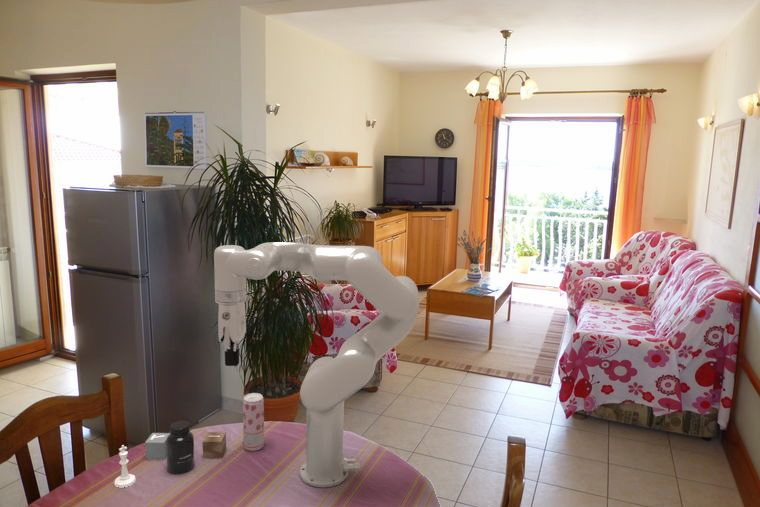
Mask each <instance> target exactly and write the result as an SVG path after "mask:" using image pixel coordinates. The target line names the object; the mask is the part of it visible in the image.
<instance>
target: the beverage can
mask: <svg viewBox="0 0 760 507" xmlns="http://www.w3.org/2000/svg"><path fill="white" fill-rule="evenodd" d="M264 403H265V400H264V396H263V394H261V393H260V392H259V393H258V392H251V393H247V394H245V395H244V396H243V401H242V408H243V409H242V411H243V412H242V413H243V414H242V417H243V421H242V422H243V423H242V424H243V425H242V426H243V430H242V431H243V448H244V449H245V450H246V451H251V452H254V451H258V450H261V449H262V448H263V447H264V446H265V413H264V412H265V409H264V408H265V405H264Z"/></svg>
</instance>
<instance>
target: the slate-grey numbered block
mask: <svg viewBox="0 0 760 507" xmlns="http://www.w3.org/2000/svg"><path fill="white" fill-rule="evenodd" d="M169 434H170V432H167V433H166V432H152V433H151V434H150V435H149V437H148V438H147V439H146V441H144V446H145V448H144V449H145V460H165V459H167V454H166V439H167V437H168V435H169Z"/></svg>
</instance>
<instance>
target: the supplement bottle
mask: <svg viewBox="0 0 760 507" xmlns="http://www.w3.org/2000/svg"><path fill="white" fill-rule="evenodd" d="M169 433H170V434H169V435H168V437H167V439H166V454H167V457H166V469H167V471H168V472H169V473H171V474H184V473H187V472H189V471H190V470H192V468H193V467H194V466H195V440H194V438H195V437H194V434H193V432H192V431H191V428H190V422H188V421H184V420H178V421H174V422H173V423H171V424H170V426H169Z"/></svg>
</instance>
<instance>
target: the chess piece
mask: <svg viewBox="0 0 760 507" xmlns="http://www.w3.org/2000/svg"><path fill="white" fill-rule="evenodd" d="M118 450H119V452H118V456H119V457H120V460H119V465H121V471H120V472H121V474H120V475H119V476H117V477H116V478H115V479H114V486H115V487H116V488H118V487H119V489H120V488H121V489H125V488H128V486H129V487H131V486H133V485H134V484H135V483H136V480H137V479H136V475H134V474H132V473H129V471H128V467H127V465H128V463H129V459H127V457H128V454H129V451H127V450H128V447H127V446H125V445H124V444H122V445H121V447H120V448H118ZM133 483H134V484H133ZM124 487H125V488H124Z"/></svg>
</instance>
